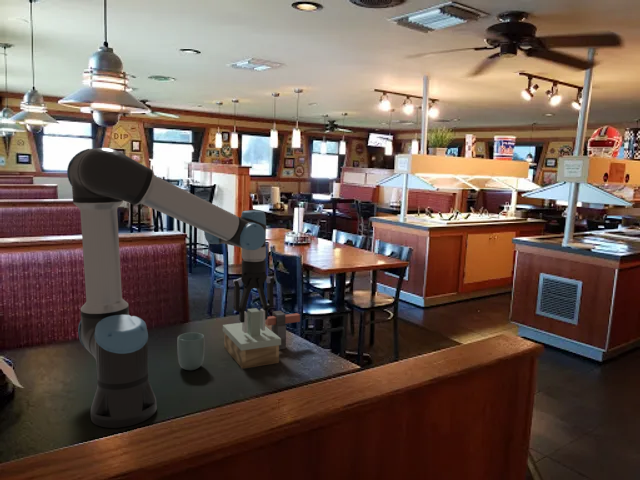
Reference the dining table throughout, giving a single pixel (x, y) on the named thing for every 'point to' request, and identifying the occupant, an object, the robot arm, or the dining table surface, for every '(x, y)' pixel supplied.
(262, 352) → the wooden box
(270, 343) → the lid
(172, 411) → the dining table surface
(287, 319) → the red bar
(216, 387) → the dining table surface
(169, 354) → the dining table surface
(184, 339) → the cup
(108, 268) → the robot arm
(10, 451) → the dining table surface
